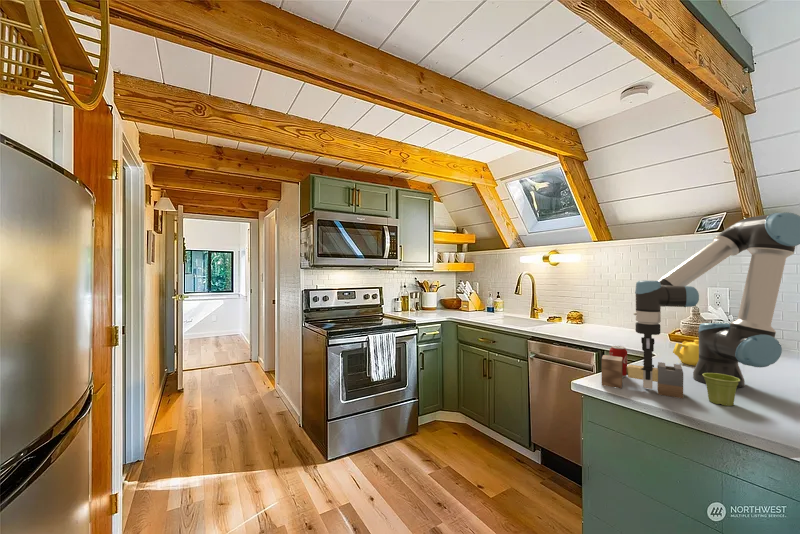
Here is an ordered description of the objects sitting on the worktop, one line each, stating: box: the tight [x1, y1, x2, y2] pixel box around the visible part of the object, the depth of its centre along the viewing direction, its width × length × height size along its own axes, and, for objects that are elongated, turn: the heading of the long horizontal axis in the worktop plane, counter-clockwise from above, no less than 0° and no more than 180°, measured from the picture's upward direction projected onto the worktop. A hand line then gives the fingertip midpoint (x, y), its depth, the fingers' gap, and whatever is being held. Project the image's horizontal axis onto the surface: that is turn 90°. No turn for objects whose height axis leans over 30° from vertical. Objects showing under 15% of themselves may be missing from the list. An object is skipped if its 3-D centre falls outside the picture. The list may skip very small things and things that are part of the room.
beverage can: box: [608, 345, 628, 379], centre depth 148 cm, size 6×6×12 cm
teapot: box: [672, 339, 699, 367], centre depth 169 cm, size 20×18×11 cm
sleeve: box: [656, 361, 684, 400], centre depth 128 cm, size 7×7×10 cm
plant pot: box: [702, 373, 740, 407], centre depth 119 cm, size 9×9×9 cm
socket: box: [601, 354, 623, 390], centre depth 138 cm, size 6×7×10 cm
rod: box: [626, 363, 675, 383], centre depth 130 cm, size 16×4×4 cm, turn 56°
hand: (647, 386), depth 131 cm, fingers closed on rod, 4 cm apart
